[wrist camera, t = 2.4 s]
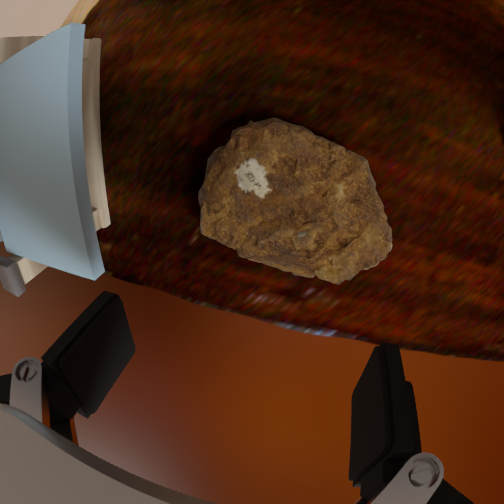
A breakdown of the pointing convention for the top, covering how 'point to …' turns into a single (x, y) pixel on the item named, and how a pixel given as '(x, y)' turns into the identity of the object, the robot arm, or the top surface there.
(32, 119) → the trapdoor
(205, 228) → the decorative rock
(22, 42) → the trapdoor stand
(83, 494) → the robot arm
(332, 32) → the top surface
